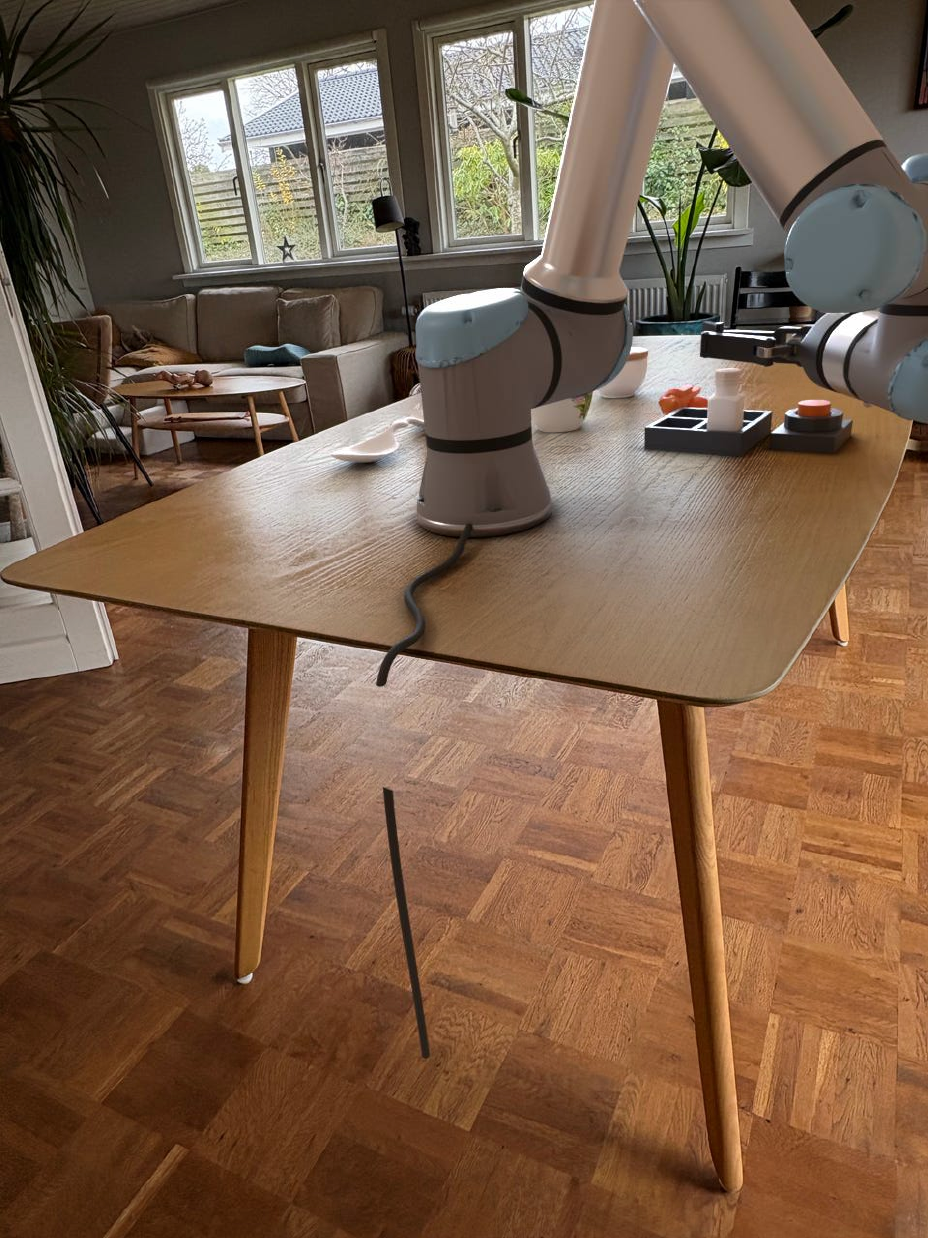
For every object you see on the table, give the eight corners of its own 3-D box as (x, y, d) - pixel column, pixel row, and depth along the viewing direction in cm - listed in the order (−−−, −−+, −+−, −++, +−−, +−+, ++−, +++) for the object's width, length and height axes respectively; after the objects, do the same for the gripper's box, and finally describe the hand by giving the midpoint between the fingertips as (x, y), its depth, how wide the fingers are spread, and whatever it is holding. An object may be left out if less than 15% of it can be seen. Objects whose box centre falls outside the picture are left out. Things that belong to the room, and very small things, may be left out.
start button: (825, 419, 105) (827, 406, 104) (793, 418, 107) (794, 404, 106) (833, 413, 107) (834, 400, 107) (801, 411, 110) (803, 398, 109)
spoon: (466, 421, 139) (464, 400, 137) (375, 473, 113) (372, 448, 111) (419, 420, 142) (417, 400, 141) (320, 471, 116) (316, 447, 115)
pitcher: (614, 415, 133) (614, 327, 127) (570, 441, 120) (567, 344, 114) (554, 412, 139) (551, 328, 133) (504, 437, 125) (499, 345, 119)
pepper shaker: (742, 439, 110) (747, 367, 106) (734, 446, 107) (739, 372, 103) (713, 438, 112) (717, 367, 108) (704, 445, 109) (708, 372, 105)
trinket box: (578, 394, 152) (577, 342, 148) (629, 387, 154) (630, 335, 150) (604, 403, 142) (603, 348, 138) (658, 395, 145) (659, 340, 141)
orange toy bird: (685, 373, 131) (656, 387, 122) (728, 389, 128) (701, 405, 119) (675, 402, 133) (645, 418, 125) (716, 419, 131) (689, 436, 122)
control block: (833, 454, 103) (837, 422, 101) (769, 449, 107) (771, 419, 105) (851, 435, 110) (854, 405, 108) (790, 432, 114) (792, 403, 113)
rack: (740, 456, 105) (742, 433, 104) (643, 449, 112) (644, 427, 111) (770, 433, 115) (772, 411, 113) (680, 427, 122) (680, 406, 121)
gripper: (724, 406, 76) (655, 371, 95) (979, 382, 77) (861, 352, 96) (729, 322, 72) (657, 303, 92) (996, 298, 74) (870, 284, 93)
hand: (761, 328), depth 94 cm, fingers open, 13 cm apart
